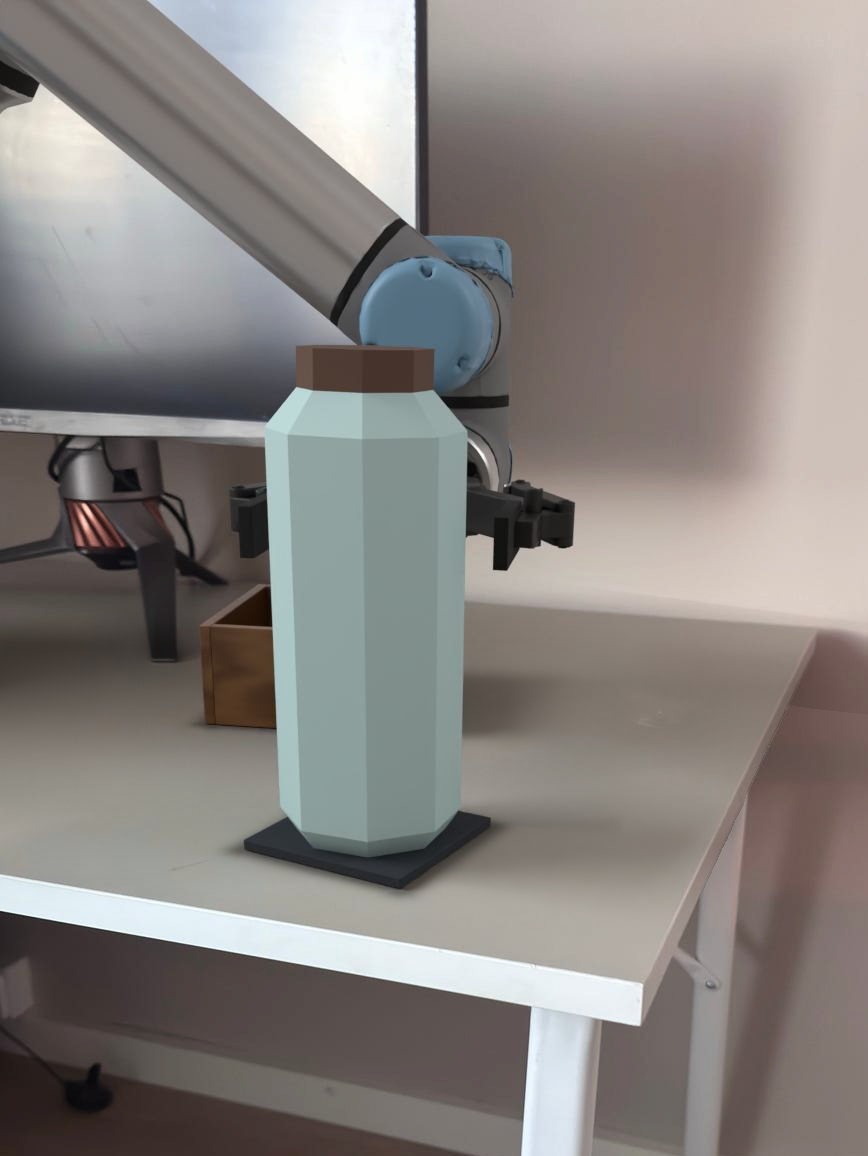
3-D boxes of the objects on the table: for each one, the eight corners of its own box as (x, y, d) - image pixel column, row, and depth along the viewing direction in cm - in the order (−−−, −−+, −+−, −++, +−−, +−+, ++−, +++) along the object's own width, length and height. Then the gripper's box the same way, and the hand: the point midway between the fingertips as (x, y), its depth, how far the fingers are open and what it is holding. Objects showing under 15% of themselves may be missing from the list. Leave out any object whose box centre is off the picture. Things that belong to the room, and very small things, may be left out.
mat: (243, 849, 70) (243, 839, 70) (345, 794, 78) (345, 785, 78) (400, 889, 66) (400, 878, 65) (490, 826, 74) (491, 817, 74)
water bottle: (366, 880, 65) (358, 352, 55) (243, 827, 71) (217, 343, 61) (497, 828, 72) (511, 350, 62) (374, 784, 78) (370, 342, 68)
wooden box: (204, 723, 90) (198, 625, 88) (262, 670, 104) (258, 583, 101) (409, 736, 89) (409, 637, 86) (440, 680, 102) (441, 592, 99)
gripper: (618, 551, 87) (605, 621, 67) (259, 534, 89) (148, 597, 70) (625, 435, 84) (615, 473, 64) (254, 421, 86) (136, 454, 67)
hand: (371, 538), depth 67 cm, fingers open, 13 cm apart
